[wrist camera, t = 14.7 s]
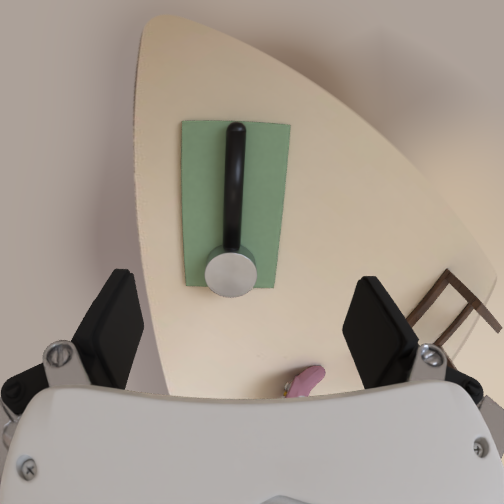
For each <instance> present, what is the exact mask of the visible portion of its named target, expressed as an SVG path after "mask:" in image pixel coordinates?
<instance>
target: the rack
mask: <svg viewBox="0 0 504 504" xmlns="http://www.w3.org/2000/svg"><path fill="white" fill-rule="evenodd" d="M449 283H450V284H451V285H452V286H453V287H454V288H455V289H456V290H457V291H458V292H459V293H460V294H461V295H462V296H463V297H464V298H465V299H466V300H467V302H468V303H469V304H468V305H467V306H466V307H465V309H464V310H463V311H462V312H461V314H460V315H459V316H458V317H457V318H456V320H455V321H454V322H453V323H452V324H451V326H450V327H449V328H448V329H447V330H446V331H445V332H444V333H443V335H442V336H441V337H440V338H439V339H438V340H437V341H436V342H435V343H434V344H433V345H435V346H437V347H439V348H440V349H441V350H442V351H443V352H444V353H445V355H446V358H447V366H449V367H451V368H453V369H455V370H457V369H456V367H455V366H454V364H453V362H452V361H451V359H450V358H449V356H448V355H447V354H446V352H445V351H444V349H443V348H442V345H443V344H444V343H445V342H446V341H447V340H448V339H449V337H450V336H451V335H452V334H453V333H454V332H455V331H456V330H457V328H458V327H459V326H460V325H461V324H462V323H463V321H464V320H465V319H466V318H467V317H468V315H469V314H470V313H471V312H472V310H473V309H475V310H476V311H477V312H478V313H479V314H480V315H481V316H482V317H483V318H484V319H485V320H486V322H488V324H489V325H490V326H491V327H492V328H493V329H494V330H495V331H496V332H497V333H499V332H500V330H501V329H502V327H501V325H500V324H499V323H498V321H497V320H496V319H495V318H494V317H493V315H492V314H491V313H490V312H489V311H488V309H487V308H486V307H485V306H484V305H483V303H482V302H481V301H480V300H479V299H478V298H477V297H476V296H475V295H474V294H473V293H472V292H471V291H470V290H469V289H468V288H467V287H466V286H465V285H464V284H463V283H462V282H461V281H460V280H459V279H458V278H457V277H455V276H454V275H453V274H452V273H451V272H450V271H449V270H448V269H446V271H445V272H444V273H443V275H442V276H441V277H440V279H439V280H438V281H437V283H436V284H435V285H434V286H433V288H432V289H431V290H430V291H429V293H428V294H427V295H426V296H425V298H424V299H423V300H422V301H421V302H420V304H419V305H418V306H417V307H416V308H415V309H414V311H413V312H412V313H411V314H410V315H409V316H408V317H407V319H406V320H407V322H408V323H409V325H410V326H411V328H412V327H413V326H414V325H415V324H416V322H417V321H418V320H419V319H420V318H421V317H422V316H423V314H424V313H425V312H426V311H427V310H428V309H429V307H430V306H431V305H432V304H433V303H434V301H435V300H436V299H437V298H438V297H439V295H440V294H441V293H442V291H443V290H444V289H445V288H446V286H447V285H448V284H449ZM418 345H419V344H418ZM457 371H458V370H457Z"/></svg>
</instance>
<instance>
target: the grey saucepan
mask: <svg viewBox="0 0 504 504" xmlns="http://www.w3.org/2000/svg"><path fill="white" fill-rule="evenodd" d="M246 132H247V131H246V127H245V125H244V124H243V123H241V122H238V121H235V122H232V123H230V124H229V125H228V127H227V129H226V148H225V173H224V206H223V244H222V245H220V246H218V247H216V248H215V249H213V250H212V251H211V253H210V254H209V256H208V258H207V261H206V267H205V275H204V276H205V281H206V283H207V285H208V287H209V288H210V289H211V290H212V291H213V292H214V293H216V294H218V295H220V296H223V297H230V298H231V297H239V296H242V295H244V294H246V293H248V292H249V291H250V290H251V289H252V288H253V287H254V285H255V283H256V280H257V269H256V262H255V258H254V256H253V254H252V253H251V252H250V251H249V250H248V249H247V248H246V247H244V246H242V245H241V224H242V204H243V185H244V166H245V149H246Z"/></svg>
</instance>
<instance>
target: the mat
mask: <svg viewBox="0 0 504 504" xmlns="http://www.w3.org/2000/svg"><path fill="white" fill-rule="evenodd" d="M232 122H235V121H182V149H181V186H182V225H183V247H184V264H185V278H186V286H203V287H208V285H207V283H206V281H205V276H204V275H205V267H206V261H207V258H208V256H209V254H210V253H211V251H212V250H213V249H215V248H216V247H218V246H220V245H222V244H223V206H224V173H225V148H226V129H227V127H228V125H229V124H230V123H232ZM238 122H241V123H243V124H244V125H245V127H246V131H247V132H246V149H245V166H244V185H243V204H242V224H241V245H242V246H244V247H246V248H247V249H248V250H249V251H250V252H251V253H252V254H253V256H254V258H255V262H256V269H257V280H256V283H255V285H254V287H253V288H274V282H275V274H276V266H277V257H278V248H279V240H280V230H281V221H282V212H283V202H284V192H285V182H286V171H287V161H288V149H289V138H290V125H285V124H274V123H261V122H244V121H238Z"/></svg>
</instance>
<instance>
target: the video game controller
mask: <svg viewBox="0 0 504 504" xmlns="http://www.w3.org/2000/svg"><path fill="white" fill-rule="evenodd" d="M324 376H325V369H324V368H323V367H321V366H312V367H309V368H307V369H306V370H304V371H303V372H302V373H301V374H299V375H298V376H297V375H296V376H295V378H294V380H293V382H292V383H290V384H289V382H288V383H286V385H285V390H286V388H287V391H288V392H286V391H285V392H284V396H285V398H295V397H308V395H309V393H310V391H311V390H312V388H313V387H314V386H315V385H316V384H317V383H319V382H320V381H321V380H322V379H323V378H324ZM288 384H289V385H288Z"/></svg>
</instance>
